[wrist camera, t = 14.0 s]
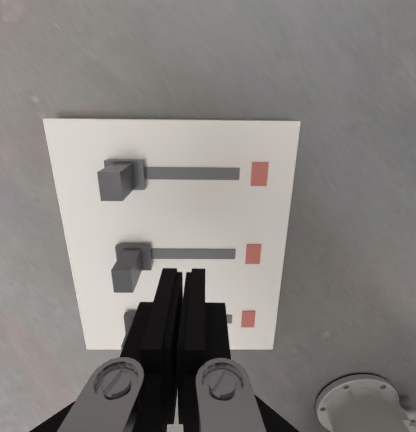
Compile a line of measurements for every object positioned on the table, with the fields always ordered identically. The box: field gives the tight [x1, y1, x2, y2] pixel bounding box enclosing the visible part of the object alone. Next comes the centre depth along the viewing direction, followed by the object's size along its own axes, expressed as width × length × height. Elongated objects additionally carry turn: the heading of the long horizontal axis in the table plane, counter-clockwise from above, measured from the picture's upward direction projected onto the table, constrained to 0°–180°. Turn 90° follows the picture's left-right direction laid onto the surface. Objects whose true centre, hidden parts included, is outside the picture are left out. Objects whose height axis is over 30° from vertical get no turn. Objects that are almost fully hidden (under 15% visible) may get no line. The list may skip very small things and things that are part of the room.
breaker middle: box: [111, 244, 153, 293], centre depth 28 cm, size 4×3×5 cm
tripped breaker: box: [97, 159, 146, 201], centre depth 24 cm, size 4×3×5 cm
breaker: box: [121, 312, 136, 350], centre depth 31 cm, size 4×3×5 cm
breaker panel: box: [43, 118, 301, 349], centre depth 32 cm, size 24×28×3 cm
